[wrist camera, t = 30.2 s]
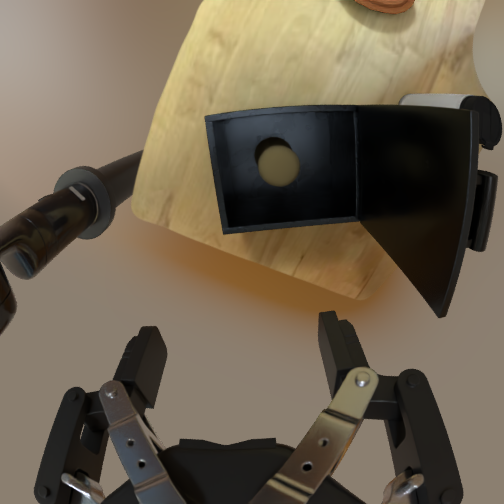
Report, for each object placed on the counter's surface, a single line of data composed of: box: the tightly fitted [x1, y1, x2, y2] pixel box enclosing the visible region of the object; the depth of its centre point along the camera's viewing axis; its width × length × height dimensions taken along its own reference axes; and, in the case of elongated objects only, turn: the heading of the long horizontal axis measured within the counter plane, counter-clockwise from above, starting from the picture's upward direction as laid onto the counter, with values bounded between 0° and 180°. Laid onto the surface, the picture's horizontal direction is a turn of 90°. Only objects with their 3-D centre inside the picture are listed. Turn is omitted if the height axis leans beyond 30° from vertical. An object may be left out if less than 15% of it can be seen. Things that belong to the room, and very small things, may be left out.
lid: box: [358, 105, 498, 318], centre depth 22 cm, size 19×15×6 cm
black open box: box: [205, 105, 361, 235], centre depth 37 cm, size 18×15×13 cm
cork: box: [254, 137, 300, 187], centre depth 37 cm, size 6×6×11 cm
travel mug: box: [399, 94, 502, 150], centre depth 29 cm, size 6×7×20 cm
